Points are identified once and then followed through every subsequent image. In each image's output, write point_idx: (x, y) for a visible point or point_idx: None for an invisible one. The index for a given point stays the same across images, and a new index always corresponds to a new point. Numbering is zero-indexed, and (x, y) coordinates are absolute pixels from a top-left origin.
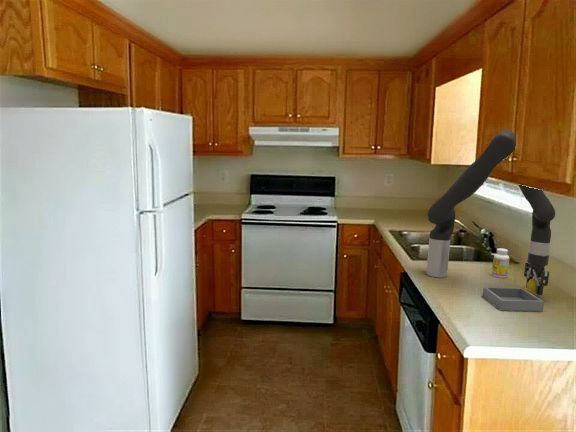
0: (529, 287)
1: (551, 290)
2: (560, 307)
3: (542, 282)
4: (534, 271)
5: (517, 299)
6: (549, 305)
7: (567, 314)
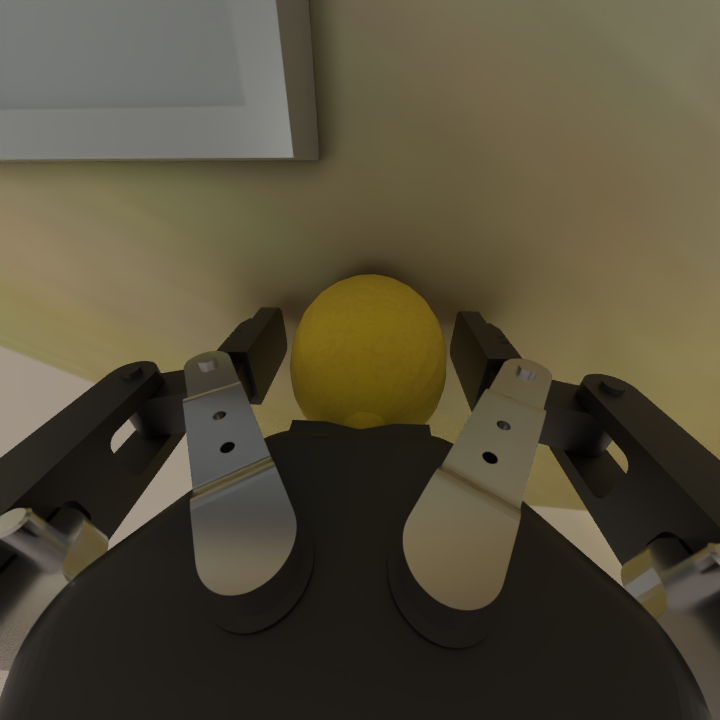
0: (340, 288)
1: None
2: (159, 367)
3: (85, 403)
4: (196, 520)
5: (193, 24)
6: (169, 319)
7: (20, 339)
